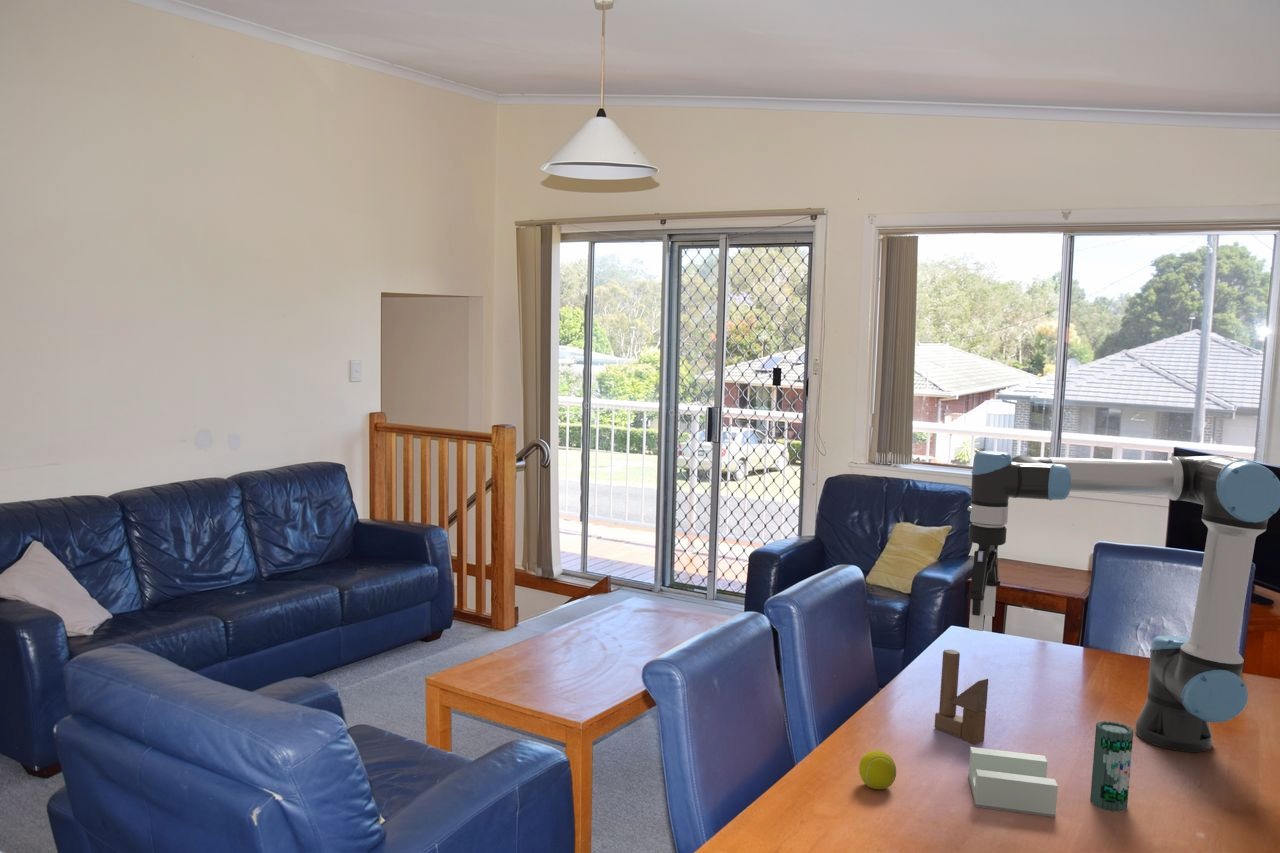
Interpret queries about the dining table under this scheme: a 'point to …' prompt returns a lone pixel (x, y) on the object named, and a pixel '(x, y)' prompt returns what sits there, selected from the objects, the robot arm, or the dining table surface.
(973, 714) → the wooden block
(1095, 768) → the can
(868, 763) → the tennis ball
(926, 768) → the dining table surface
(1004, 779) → the socket block
